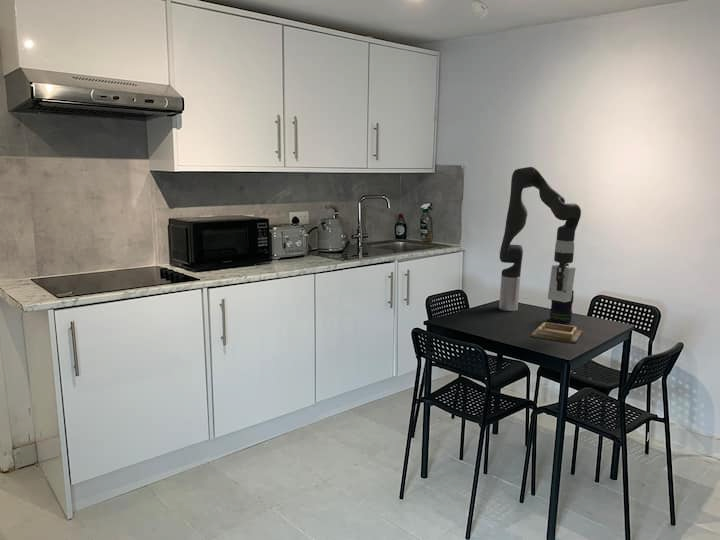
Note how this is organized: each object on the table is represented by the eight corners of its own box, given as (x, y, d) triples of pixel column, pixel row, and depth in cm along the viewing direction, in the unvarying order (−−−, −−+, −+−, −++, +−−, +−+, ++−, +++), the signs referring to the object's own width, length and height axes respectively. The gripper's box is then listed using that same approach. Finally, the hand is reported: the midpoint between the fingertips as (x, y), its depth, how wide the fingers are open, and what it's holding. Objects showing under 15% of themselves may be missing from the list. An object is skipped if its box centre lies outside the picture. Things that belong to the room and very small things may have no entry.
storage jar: (562, 317, 269) (564, 287, 267) (575, 323, 260) (578, 291, 258) (544, 318, 266) (547, 288, 264) (558, 324, 257) (560, 292, 255)
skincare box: (547, 299, 239) (550, 265, 236) (554, 297, 243) (557, 263, 240) (565, 303, 233) (569, 268, 230) (572, 300, 237) (575, 266, 234)
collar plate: (540, 326, 252) (540, 320, 252) (582, 333, 244) (582, 326, 243) (531, 336, 237) (531, 329, 236) (575, 343, 228) (576, 336, 228)
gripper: (558, 248, 242) (554, 285, 245) (551, 252, 230) (548, 291, 233) (576, 249, 238) (572, 287, 241) (570, 253, 226) (567, 293, 229)
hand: (560, 289), depth 237 cm, fingers closed on skincare box, 7 cm apart
